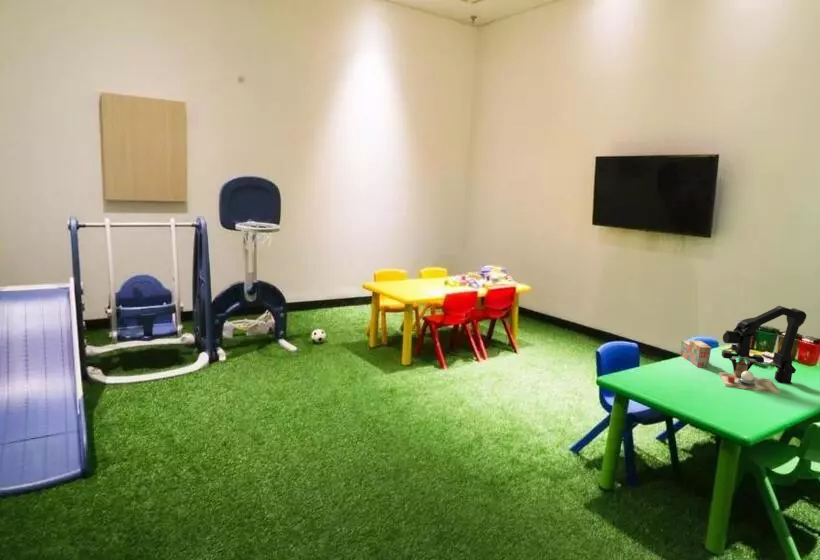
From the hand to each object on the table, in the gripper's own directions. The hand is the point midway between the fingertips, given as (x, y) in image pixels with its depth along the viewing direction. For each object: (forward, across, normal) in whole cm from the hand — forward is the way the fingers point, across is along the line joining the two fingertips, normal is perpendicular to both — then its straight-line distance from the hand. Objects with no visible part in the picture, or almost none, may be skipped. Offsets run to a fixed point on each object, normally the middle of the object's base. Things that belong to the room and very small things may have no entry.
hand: (740, 371), depth 288 cm
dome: (+1, -1, +11) cm, 11 cm away
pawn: (+1, 0, 0) cm, 1 cm away
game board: (+4, -3, +6) cm, 8 cm away
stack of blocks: (+5, +19, -23) cm, 30 cm away
